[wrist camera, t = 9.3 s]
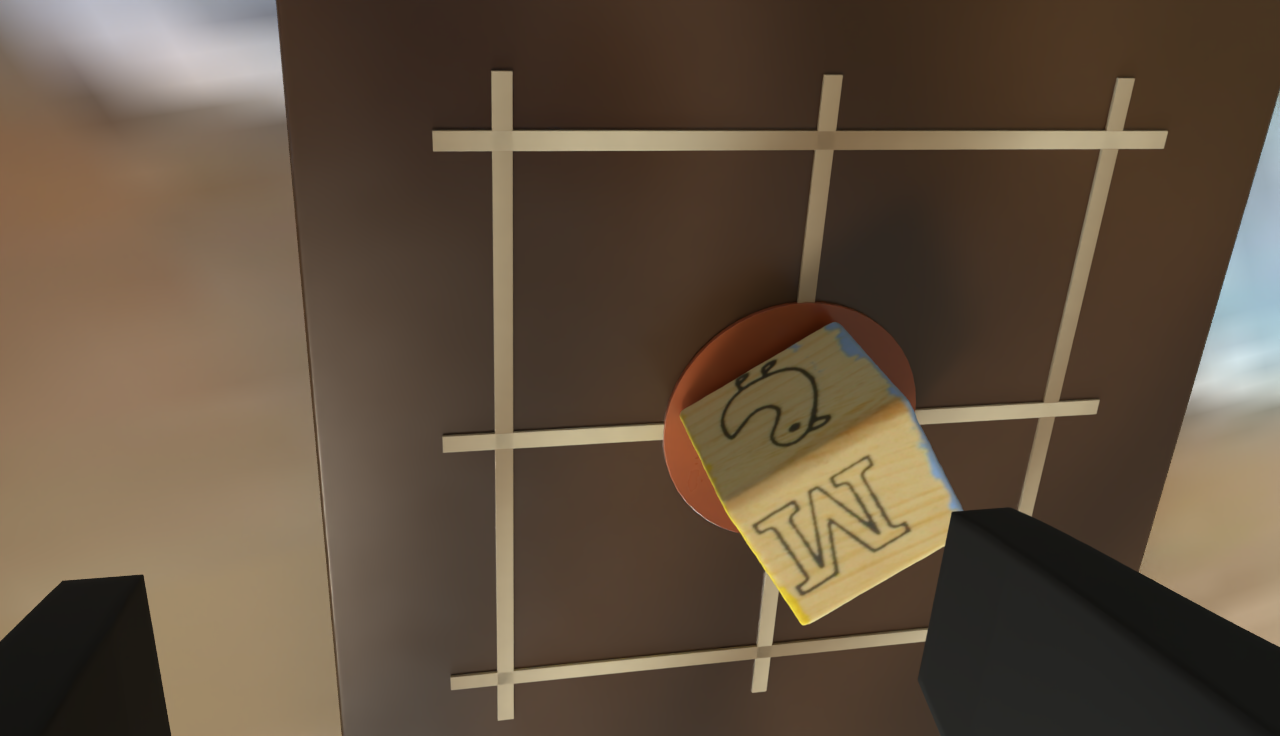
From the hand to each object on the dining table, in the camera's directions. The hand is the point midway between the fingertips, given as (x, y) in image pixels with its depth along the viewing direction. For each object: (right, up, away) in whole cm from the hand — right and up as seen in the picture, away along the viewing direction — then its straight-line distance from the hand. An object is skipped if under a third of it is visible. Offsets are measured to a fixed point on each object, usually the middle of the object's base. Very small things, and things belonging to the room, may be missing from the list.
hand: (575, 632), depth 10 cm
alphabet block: (+3, +1, +9) cm, 10 cm away
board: (+3, +2, +10) cm, 11 cm away
